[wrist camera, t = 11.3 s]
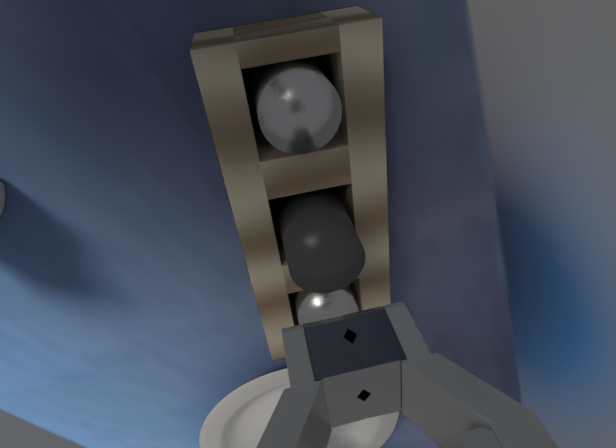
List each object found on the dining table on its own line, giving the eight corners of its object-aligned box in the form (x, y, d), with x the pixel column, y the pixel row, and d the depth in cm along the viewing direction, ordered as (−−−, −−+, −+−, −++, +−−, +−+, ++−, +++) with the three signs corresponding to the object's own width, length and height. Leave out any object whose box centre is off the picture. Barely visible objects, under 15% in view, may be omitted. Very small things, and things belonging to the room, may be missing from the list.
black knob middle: (273, 196, 28) (282, 240, 24) (342, 182, 29) (363, 223, 24) (284, 252, 31) (294, 300, 27) (347, 238, 31) (367, 284, 27)
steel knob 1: (245, 58, 26) (250, 79, 22) (319, 45, 27) (338, 64, 23) (259, 129, 29) (266, 161, 25) (327, 117, 29) (345, 146, 25)
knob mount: (194, 33, 26) (189, 50, 22) (356, 5, 27) (382, 17, 23) (266, 316, 39) (272, 360, 35) (373, 293, 40) (391, 333, 36)
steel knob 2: (286, 262, 35) (295, 305, 31) (341, 250, 36) (357, 291, 31) (294, 303, 38) (303, 347, 34) (346, 292, 38) (361, 334, 34)
